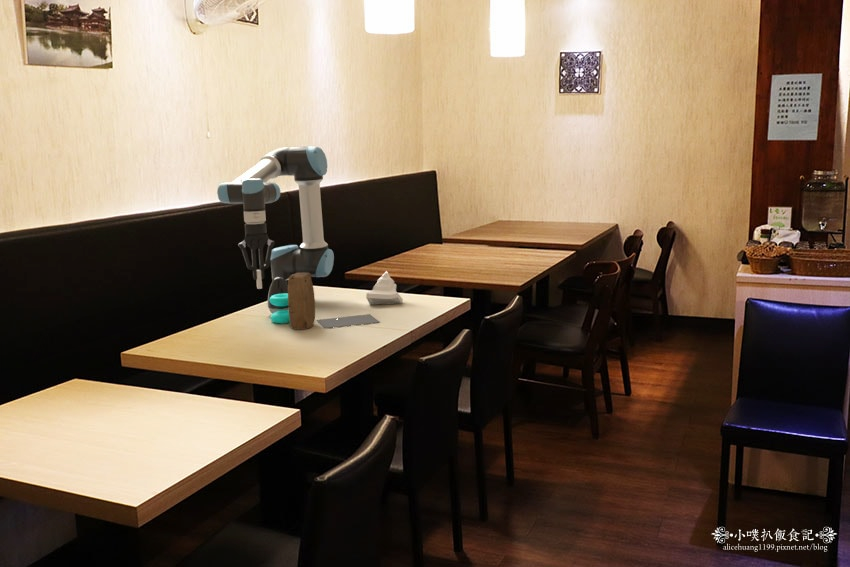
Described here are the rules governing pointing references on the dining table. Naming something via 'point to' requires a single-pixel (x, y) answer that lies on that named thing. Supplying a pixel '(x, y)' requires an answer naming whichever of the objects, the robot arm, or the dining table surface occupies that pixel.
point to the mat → (348, 321)
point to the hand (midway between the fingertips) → (259, 288)
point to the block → (301, 301)
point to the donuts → (284, 314)
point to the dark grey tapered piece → (277, 287)
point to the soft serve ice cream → (384, 291)
